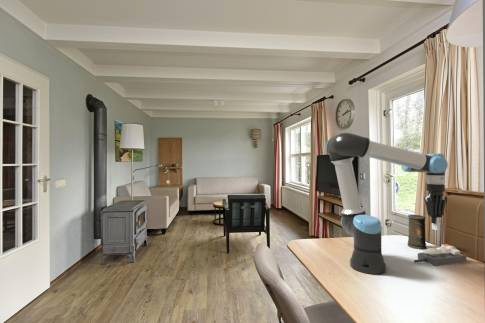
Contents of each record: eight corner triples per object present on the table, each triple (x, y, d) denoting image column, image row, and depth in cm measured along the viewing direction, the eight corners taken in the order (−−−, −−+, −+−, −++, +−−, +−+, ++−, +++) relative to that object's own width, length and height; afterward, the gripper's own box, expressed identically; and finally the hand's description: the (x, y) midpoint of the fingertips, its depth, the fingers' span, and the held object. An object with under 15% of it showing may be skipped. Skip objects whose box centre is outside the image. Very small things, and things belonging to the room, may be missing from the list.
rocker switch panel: (424, 267, 116) (424, 260, 116) (406, 260, 125) (406, 254, 125) (466, 261, 123) (466, 255, 123) (447, 255, 132) (447, 249, 132)
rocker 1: (437, 256, 119) (435, 249, 120) (424, 254, 125) (422, 248, 126) (442, 255, 120) (440, 248, 121) (429, 254, 126) (428, 247, 127)
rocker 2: (446, 254, 121) (444, 248, 122) (433, 253, 127) (431, 247, 128) (452, 254, 122) (450, 247, 123) (438, 252, 128) (437, 246, 129)
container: (404, 245, 147) (403, 215, 147) (413, 243, 151) (413, 213, 151) (420, 250, 139) (420, 218, 139) (430, 248, 143) (429, 216, 143)
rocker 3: (453, 256, 123) (455, 250, 122) (440, 248, 129) (442, 243, 129) (459, 255, 124) (460, 250, 123) (445, 248, 130) (447, 242, 130)
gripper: (433, 184, 122) (433, 232, 122) (452, 184, 126) (452, 230, 125) (418, 183, 129) (418, 228, 129) (437, 182, 133) (437, 227, 133)
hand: (435, 229), depth 127 cm, fingers closed
